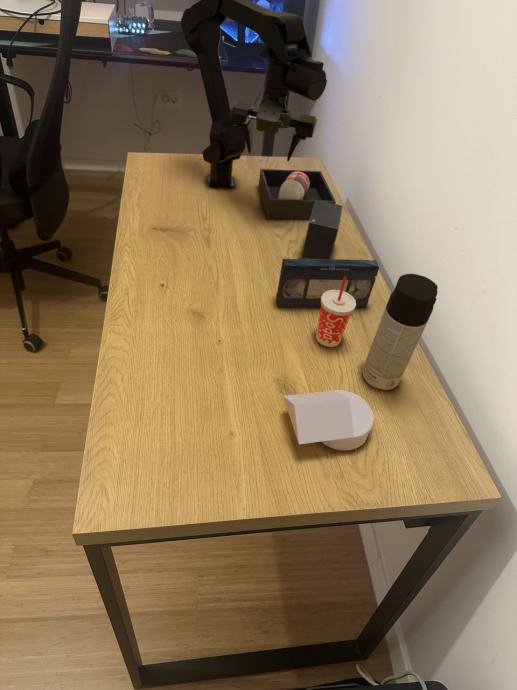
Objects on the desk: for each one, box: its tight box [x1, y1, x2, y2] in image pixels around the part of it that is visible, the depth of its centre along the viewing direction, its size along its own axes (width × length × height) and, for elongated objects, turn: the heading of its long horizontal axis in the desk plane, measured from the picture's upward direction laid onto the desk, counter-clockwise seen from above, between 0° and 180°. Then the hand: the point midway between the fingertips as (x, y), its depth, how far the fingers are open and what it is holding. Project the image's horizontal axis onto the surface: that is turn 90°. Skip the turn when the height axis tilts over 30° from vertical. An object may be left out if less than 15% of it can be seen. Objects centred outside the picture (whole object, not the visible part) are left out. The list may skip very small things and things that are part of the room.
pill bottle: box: [279, 172, 310, 200], centre depth 124 cm, size 6×6×11 cm
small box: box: [300, 200, 344, 260], centre depth 109 cm, size 11×6×10 cm, turn 167°
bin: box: [257, 168, 337, 221], centre depth 127 cm, size 16×16×5 cm
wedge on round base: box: [282, 389, 375, 452], centre depth 76 cm, size 9×7×13 cm
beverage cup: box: [315, 276, 356, 348], centre depth 88 cm, size 6×6×14 cm
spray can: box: [361, 273, 439, 391], centre depth 80 cm, size 7×7×20 cm
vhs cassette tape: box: [275, 258, 380, 308], centre depth 96 cm, size 18×3×10 cm, turn 95°
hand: (268, 156), depth 116 cm, fingers open, 9 cm apart
